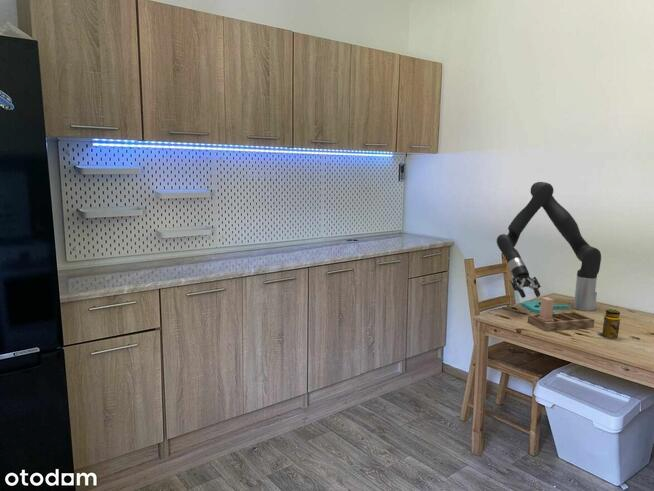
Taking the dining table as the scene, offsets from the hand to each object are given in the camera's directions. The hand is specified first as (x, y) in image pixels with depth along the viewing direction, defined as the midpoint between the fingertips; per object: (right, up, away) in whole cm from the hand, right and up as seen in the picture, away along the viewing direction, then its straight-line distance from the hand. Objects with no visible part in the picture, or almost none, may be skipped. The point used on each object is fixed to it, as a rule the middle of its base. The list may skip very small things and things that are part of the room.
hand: (531, 296), depth 233 cm
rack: (+10, -12, -7) cm, 18 cm away
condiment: (+24, -15, -23) cm, 36 cm away
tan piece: (+2, -11, -10) cm, 15 cm away
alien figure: (+14, -9, +18) cm, 25 cm away
